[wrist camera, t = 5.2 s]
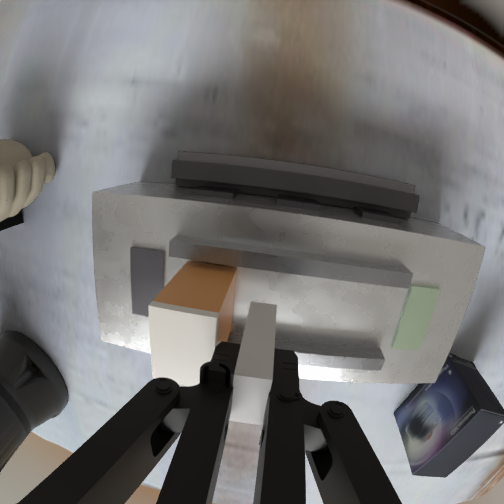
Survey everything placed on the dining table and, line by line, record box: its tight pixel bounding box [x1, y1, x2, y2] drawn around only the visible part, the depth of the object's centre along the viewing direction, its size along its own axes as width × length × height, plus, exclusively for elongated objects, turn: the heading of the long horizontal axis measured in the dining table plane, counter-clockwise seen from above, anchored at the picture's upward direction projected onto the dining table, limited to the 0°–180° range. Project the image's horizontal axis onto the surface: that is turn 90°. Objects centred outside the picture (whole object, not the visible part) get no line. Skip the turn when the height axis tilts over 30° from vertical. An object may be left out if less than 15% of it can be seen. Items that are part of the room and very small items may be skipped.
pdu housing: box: [92, 182, 485, 383], centre depth 23 cm, size 28×12×9 cm, turn 84°
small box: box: [394, 353, 504, 477], centre depth 26 cm, size 11×6×10 cm, turn 156°
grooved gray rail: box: [171, 151, 419, 219], centre depth 25 cm, size 20×3×3 cm, turn 84°
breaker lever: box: [148, 261, 237, 387], centre depth 17 cm, size 3×4×6 cm
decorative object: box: [0, 139, 55, 231], centre depth 22 cm, size 13×10×10 cm
